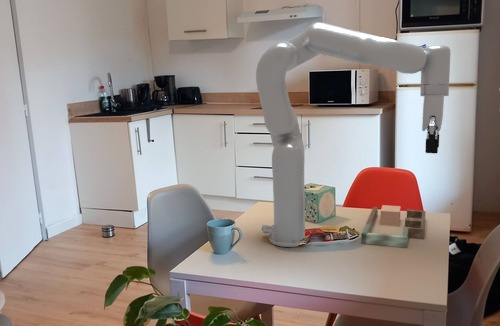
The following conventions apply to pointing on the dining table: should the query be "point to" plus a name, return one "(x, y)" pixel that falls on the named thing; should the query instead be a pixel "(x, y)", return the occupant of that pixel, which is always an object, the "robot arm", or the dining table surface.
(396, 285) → the dining table surface
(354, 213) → the dining table surface
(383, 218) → the block
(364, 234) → the box
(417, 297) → the dining table surface
